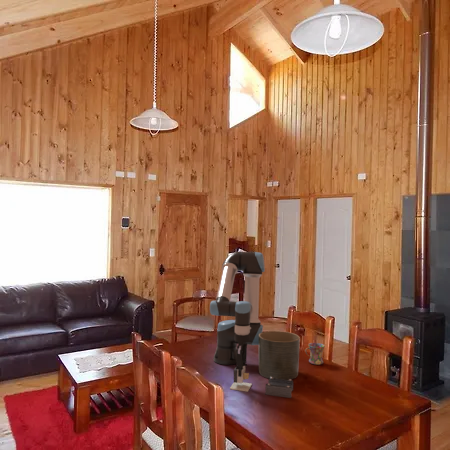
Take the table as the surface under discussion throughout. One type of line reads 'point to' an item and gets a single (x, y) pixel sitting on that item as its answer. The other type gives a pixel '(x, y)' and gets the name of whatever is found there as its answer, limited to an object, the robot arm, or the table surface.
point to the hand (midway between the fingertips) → (241, 380)
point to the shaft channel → (279, 387)
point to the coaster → (241, 386)
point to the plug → (245, 375)
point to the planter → (278, 354)
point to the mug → (315, 353)
